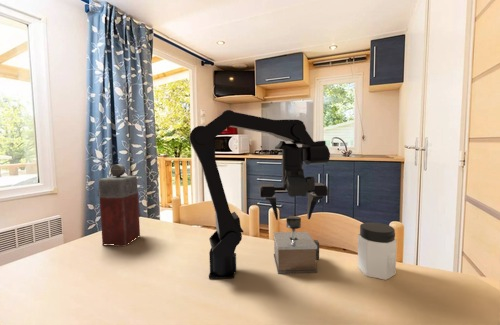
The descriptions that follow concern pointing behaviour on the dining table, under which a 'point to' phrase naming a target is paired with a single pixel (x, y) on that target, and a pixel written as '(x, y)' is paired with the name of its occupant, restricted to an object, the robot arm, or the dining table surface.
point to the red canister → (119, 207)
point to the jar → (377, 250)
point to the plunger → (293, 224)
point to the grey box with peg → (295, 252)
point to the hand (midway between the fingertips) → (292, 219)
